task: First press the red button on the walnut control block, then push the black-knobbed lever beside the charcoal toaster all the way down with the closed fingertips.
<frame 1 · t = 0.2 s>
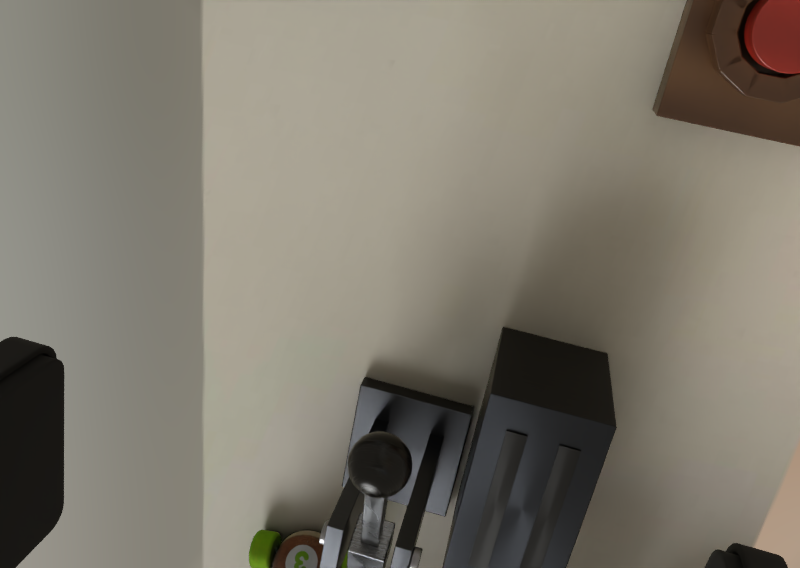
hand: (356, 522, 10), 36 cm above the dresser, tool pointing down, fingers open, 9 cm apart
red button: (793, 28, 35), point 5 cm above the dresser, slide at 0.2 cm
toy car: (317, 565, 59), on the dresser
toaster: (528, 427, 51), on the dresser
lever bracket: (407, 443, 53), on the dresser
toaster lever: (375, 508, 39), point 13 cm above the dresser, hinge at 25.0°
button block: (768, 25, 39), on the dresser
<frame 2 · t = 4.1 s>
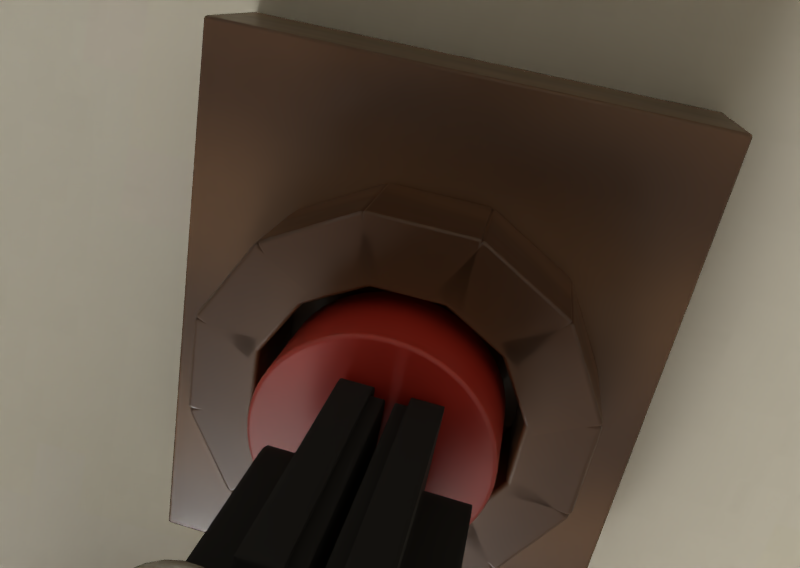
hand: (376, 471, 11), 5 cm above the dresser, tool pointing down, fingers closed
red button: (380, 421, 12), point 4 cm above the dresser, slide at -0.2 cm, touching gripper
button block: (423, 319, 16), on the dresser
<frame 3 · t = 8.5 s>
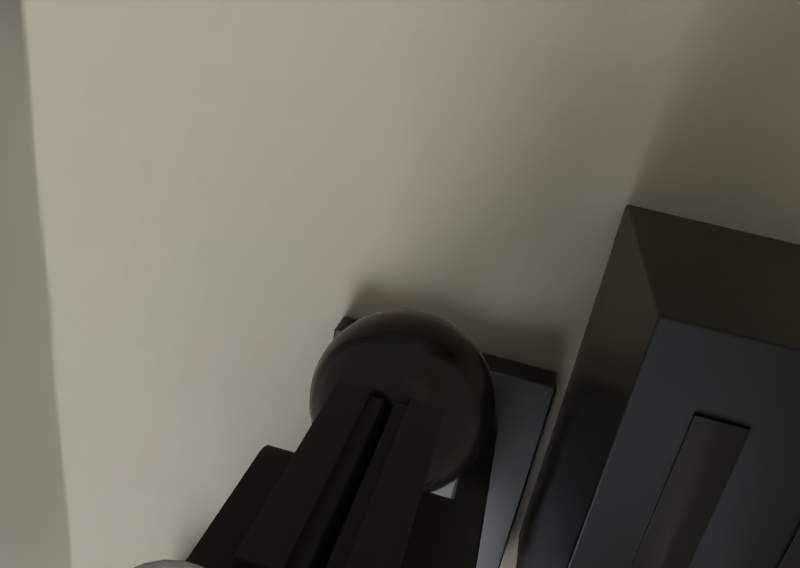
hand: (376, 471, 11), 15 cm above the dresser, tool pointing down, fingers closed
toaster: (664, 413, 26), on the dresser
lever bracket: (424, 443, 28), on the dresser
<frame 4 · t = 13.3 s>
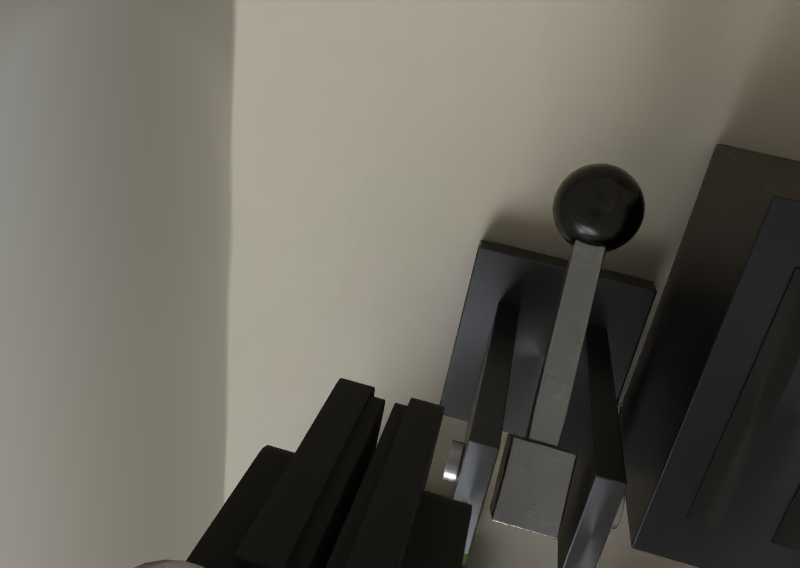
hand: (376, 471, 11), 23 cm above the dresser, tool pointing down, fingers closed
toaster: (740, 313, 32), on the dresser
lever bracket: (540, 345, 35), on the dresser
toaster lever: (566, 339, 26), point 8 cm above the dresser, hinge at -30.5°
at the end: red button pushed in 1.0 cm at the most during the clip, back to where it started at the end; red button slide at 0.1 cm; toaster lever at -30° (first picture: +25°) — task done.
